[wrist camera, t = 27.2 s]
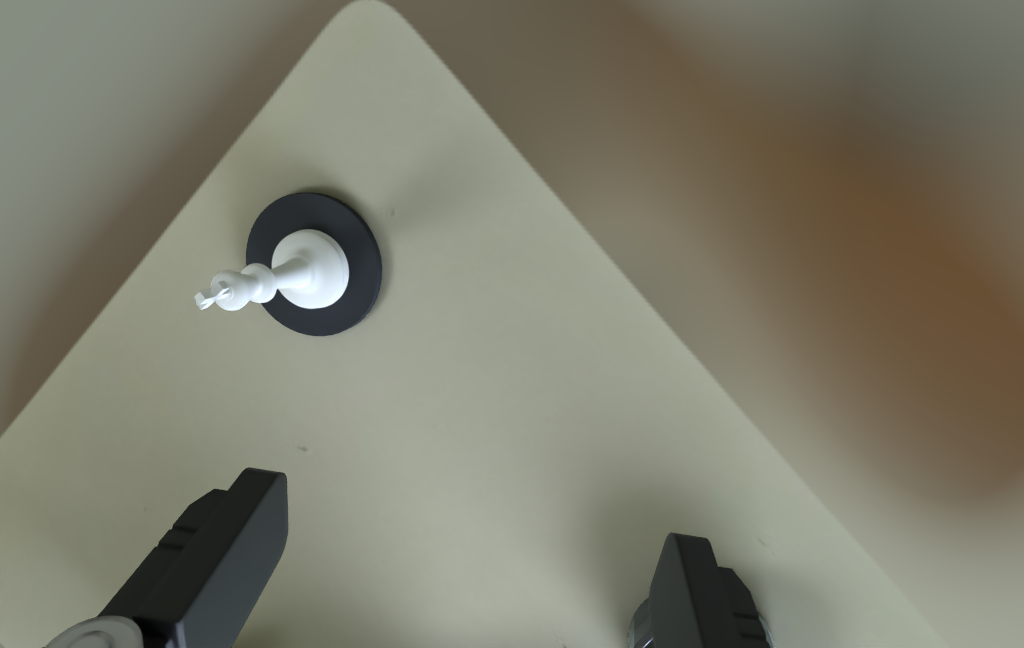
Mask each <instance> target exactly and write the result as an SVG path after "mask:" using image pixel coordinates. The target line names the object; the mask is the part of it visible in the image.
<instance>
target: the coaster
mask: <svg viewBox="0 0 1024 648" xmlns="http://www.w3.org/2000/svg"><path fill="white" fill-rule="evenodd" d="M304 229H312V230H318V231H321V232H323V233H325V234H327V235H329V236H330V237H331V238H333V239H334V240H335V241H336V242H337V243H338V244H339V246H340V247H341V248H342V250H343V252H344V254H345V256H346V259H347V262H348V267H349V279H348V284H347V287H346V289H345V291H344V293H343V294H342V296H341V297H340V298H339V299H338V300H337V301H336V302H335V303H333V304H331V305H329V306H327V307H323V308H315V309H309V308H303V307H300V306H297V305H295V304H293V303H292V302H290V301H289V300H288V299H286V298H285V297H284V296H283V294H282V293H281V292H280V291H279V289H277V290H276V293H275V295H274V297H273V298H272V299H271V300H270V301H268V302H265V303H261V304H262V305H263V307H264V308H265V309H266V310H267V311H268V313H269V314H270V315H271V316H272V317H274V318H275V319H276V320H277V321H278V322H280V323H281V324H282V325H284V326H286V327H288V328H289V329H291V330H294V331H296V332H299V333H302V334H306V335H312V336H328V335H334V334H337V333H340V332H342V331H345V330H347V329H349V328H351V327H352V326H354V325H356V324H357V323H358V322H359V321H361V320H362V319H363V318H364V317H365V316H366V315H367V313H368V312H369V311H370V309H371V308H372V306H373V305H374V303H375V300H376V298H377V296H378V293H379V289H380V285H381V278H382V265H381V257H380V253H379V249H378V246H377V243H376V240H375V238H374V236H373V234H372V232H371V230H370V229H369V227H368V226H367V224H366V223H365V222H364V220H363V219H362V218H361V217H360V216H359V215H358V214H357V213H356V212H355V211H354V210H353V209H352V208H351V207H349V206H348V205H346V204H345V203H343V202H342V201H340V200H338V199H336V198H333V197H331V196H328V195H324V194H320V193H311V192H310V193H295V194H290V195H287V196H284V197H282V198H280V199H278V200H276V201H274V202H273V203H272V204H270V205H269V206H268V207H267V208H266V209H265V210H264V211H263V212H262V213H261V214H260V215H259V217H258V218H257V220H256V221H255V223H254V225H253V227H252V229H251V232H250V235H249V238H248V243H247V250H246V264H247V266H248V265H250V264H253V263H259V264H263V265H265V266H267V267H268V268H269V269H272V258H273V254H274V251H275V249H276V247H277V245H278V244H279V243H280V242H281V240H282V239H284V238H285V237H286V236H288V235H290V234H292V233H294V232H297V231H299V230H304Z"/></svg>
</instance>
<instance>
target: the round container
mask: <svg viewBox="0 0 1024 648" xmlns="http://www.w3.org/2000/svg"><path fill="white" fill-rule="evenodd" d="M757 612H758V611H757ZM758 615H759V621H761V623H762V626H763V628H764V631H765V634H766V641H767V642H769V645H770V648H776V644H775V641H774V639H773V637H772V635H771V632H770V630H769V627H768V625H767V623H766V622H765V620H764V618H763V617H762V616H761V614H760V613H759V612H758ZM627 648H654V642H653V636H652V630H651V624H650V619H649V598H648V599H646V600H645V601H644V602H643V603H642V604H641V605H640V606H639V608H638V609H637V611H636V612H635V614H634V616H633V618H632V620H631V623H630V626H629V632H628V636H627Z"/></svg>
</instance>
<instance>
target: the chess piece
mask: <svg viewBox="0 0 1024 648" xmlns="http://www.w3.org/2000/svg"><path fill="white" fill-rule="evenodd" d="M348 279H349V267H348V262H347V259H346V256H345V254H344V252H343V250H342V248H341V247H340V246H339V244H338V243H337V242H336V241H335V240H334V239H333V238H331V237H330V236H329V235H327V234H325V233H323V232H321V231H318V230H312V229H304V230H299V231H297V232H294V233H292V234H290V235H288V236H286V237H285V238H284V239H282V240H281V242H280V243H279V244H278V245H277V247H276V249H275V251H274V254H273V258H272V269H269V268H268V267H267V266H265V265H263V264H259V263H253V264H250V265H248V266H247V267H245V268H244V269H243V270H242V272H241V273H238V272H235V271H229V270H226V271H221V272H219V273H218V274H216V275H215V276H214V278H213V279H212V282H211V288H210V289H209V290H205V291H201V292H199V293H198V294H197V295H196V296H195V297H194V298H195V299H196V302H195V303H196V304H197V305H198V307H199V308H200V309H205V308H207V307H209V306H210V305H211V304H212V303H213V302H214V301H215V302H216V303H217V304H218V305H219V306H220V307H221V308H223V309H225V310H229V311H235V310H238V309H241V308H242V307H243V306H245V305H246V304H247V303H248V301H249V300H251V301H253V302H257V303H265V302H268V301H270V300H271V299H272V298H273V297H274V295H275V293H276V290H277V289H279V291H280V292H281V293H282V294H283V296H284V297H285V298H286V299H288V300H289V301H290V302H292V303H293V304H295V305H297V306H300V307H303V308H309V309H315V308H323V307H327V306H329V305H331V304H333V303H335V302H336V301H337V300H338V299H339V298H340V297H341V296H342V294H343V293H344V291H345V289H346V287H347V284H348Z"/></svg>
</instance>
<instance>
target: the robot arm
mask: <svg viewBox="0 0 1024 648" xmlns="http://www.w3.org/2000/svg"><path fill="white" fill-rule="evenodd" d="M287 535H288V499H287V477H286V475H285V473H281V472H275V471H269V470H262V469H256V468H250V467H249V468H246V469H245V470H243V472H242V473H241V474H240V475H239V477H238V478H237V479H236V480H235V482H234V483H233V484H232V486H231V487H230V488H229V490H228V491H226V490H219V489H213V490H212V491H210V492H209V493H207V494H206V495H204V496H202V497H201V498H199V499H198V500H196V501H195V502H193V503H192V504H190V505H189V506H188V507H187V509H186V510H185V511H184V512H183V514H182V515H181V516H180V517H179V518H178V520H177V521H176V522H175V523H174V524H173V527H172V529H171V530H170V529H169V530H168V532H167V533H166V534H165V535H164V537H163V538H162V539H161V540H160V541H159V544H158V546H157V547H154V549H153V550H152V551H151V552H150V554H149V555H148V556H147V557H146V558H145V560H144V561H143V562H142V563H141V564H140V566H139V567H138V568H137V569H136V570H135V572H134V573H133V574H132V575H131V577H130V578H129V579H128V580H127V581H126V583H125V584H124V585H123V586H122V587H121V589H120V590H119V591H118V592H117V594H116V595H115V596H114V597H113V598H112V600H111V601H110V602H109V603H108V604H107V606H106V607H105V608H104V609H103V611H102V612H101V613H100V614H99V615H98V616H97V617H95V618H92V619H88V620H85V621H83V622H80V623H78V624H76V625H74V626H72V627H70V628H68V629H67V630H65V631H63V632H62V633H60V634H59V635H58V636H57V637H55V638H54V639H53V640H52V641H51V642H50V643H49V644H47V645H46V647H43V648H231V647H232V645H233V643H234V642H235V640H236V638H237V636H238V634H239V633H240V631H241V629H242V627H243V625H244V624H245V622H246V620H247V618H248V616H249V615H250V613H251V611H252V609H253V607H254V606H255V604H256V602H257V600H258V598H259V596H260V595H261V593H262V591H263V589H264V587H265V586H266V584H267V582H268V580H269V578H270V577H271V575H272V573H273V571H274V569H275V568H276V566H277V564H278V562H279V560H280V558H281V556H282V553H283V551H284V548H285V544H286V540H287ZM649 619H650V624H651V630H652V636H653V642H654V648H770V645H769V642H767V641H766V634H765V631H764V628H763V626H762V623H761V621H759V615H758V612H757V609H756V607H755V604H754V601H753V599H752V596H751V593H750V591H749V590H748V589H747V587H746V586H745V585H744V583H743V582H742V581H741V580H740V578H739V577H738V576H737V575H736V573H735V572H734V571H733V569H730V568H723V567H718V566H717V562H716V559H715V556H714V553H713V550H712V547H711V544H710V542H709V540H708V539H707V538H703V537H696V536H690V535H684V534H677V533H669V534H668V536H667V538H666V540H665V543H664V546H663V549H662V552H661V555H660V558H659V561H658V565H657V568H656V571H655V574H654V577H653V580H652V583H651V586H650V592H649Z"/></svg>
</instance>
